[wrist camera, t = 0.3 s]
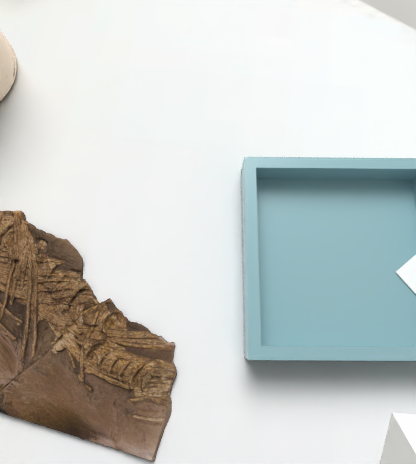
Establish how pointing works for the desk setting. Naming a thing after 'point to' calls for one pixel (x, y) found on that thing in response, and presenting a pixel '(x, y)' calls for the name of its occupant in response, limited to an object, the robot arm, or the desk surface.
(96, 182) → the desk surface
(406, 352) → the tray
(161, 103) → the desk surface
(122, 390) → the wooden fragment
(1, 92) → the teacup with lid
